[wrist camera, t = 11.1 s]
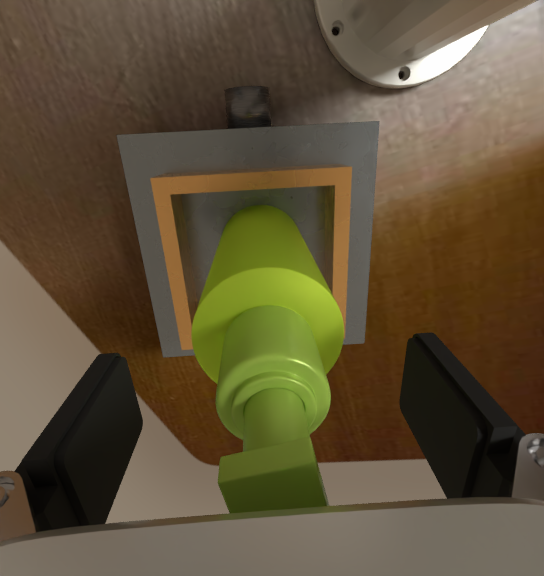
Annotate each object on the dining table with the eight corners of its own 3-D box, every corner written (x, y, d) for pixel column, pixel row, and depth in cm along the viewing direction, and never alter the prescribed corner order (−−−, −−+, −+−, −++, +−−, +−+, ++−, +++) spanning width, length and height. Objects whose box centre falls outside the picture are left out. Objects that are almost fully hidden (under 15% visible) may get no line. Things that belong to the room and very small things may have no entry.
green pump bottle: (238, 301, 27) (205, 650, 8) (210, 216, 24) (72, 457, 6) (310, 283, 26) (442, 602, 8) (290, 195, 24) (420, 375, 5)
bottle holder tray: (129, 99, 24) (85, 84, 18) (363, 87, 25) (401, 68, 18) (173, 332, 32) (153, 380, 26) (351, 320, 33) (375, 364, 26)
